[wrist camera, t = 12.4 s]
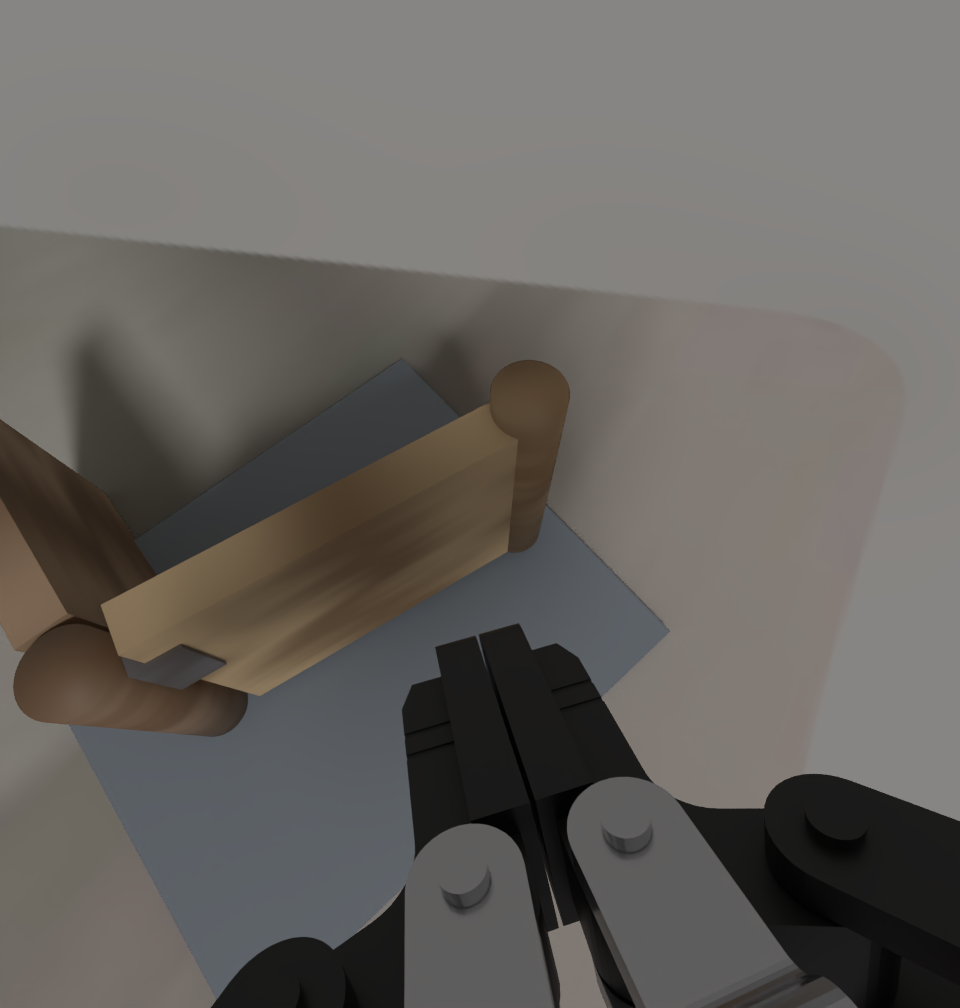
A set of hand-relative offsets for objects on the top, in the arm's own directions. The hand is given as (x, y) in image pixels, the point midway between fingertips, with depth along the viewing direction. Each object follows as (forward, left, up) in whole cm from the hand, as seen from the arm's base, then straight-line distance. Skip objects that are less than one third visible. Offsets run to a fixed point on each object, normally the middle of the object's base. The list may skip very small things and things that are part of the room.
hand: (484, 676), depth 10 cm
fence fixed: (-10, -6, -10) cm, 16 cm away
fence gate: (-5, 0, -9) cm, 11 cm away
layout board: (-5, -2, -10) cm, 12 cm away
